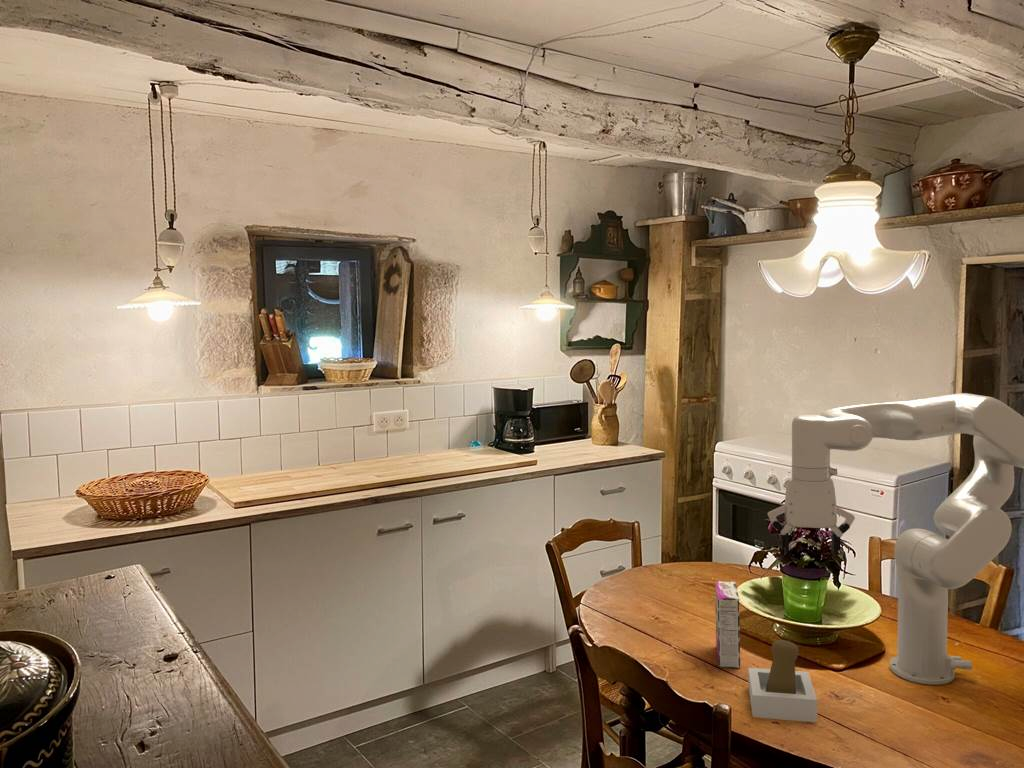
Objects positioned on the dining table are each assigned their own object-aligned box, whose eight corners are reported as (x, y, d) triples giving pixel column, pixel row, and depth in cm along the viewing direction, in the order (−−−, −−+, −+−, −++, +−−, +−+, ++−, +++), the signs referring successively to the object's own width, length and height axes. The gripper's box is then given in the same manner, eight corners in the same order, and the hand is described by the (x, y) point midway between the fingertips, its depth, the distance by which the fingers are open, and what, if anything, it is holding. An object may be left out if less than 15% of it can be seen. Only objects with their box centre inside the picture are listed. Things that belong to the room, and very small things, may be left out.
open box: (808, 694, 161) (808, 671, 161) (817, 724, 150) (817, 700, 149) (748, 690, 164) (748, 667, 164) (752, 719, 152) (752, 695, 152)
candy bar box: (714, 646, 184) (714, 580, 183) (736, 647, 183) (736, 581, 182) (717, 667, 174) (717, 597, 172) (740, 669, 173) (740, 598, 171)
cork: (782, 687, 161) (787, 635, 160) (802, 700, 155) (808, 646, 155) (758, 690, 158) (763, 637, 158) (779, 703, 153) (784, 648, 152)
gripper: (851, 470, 164) (850, 549, 166) (766, 469, 168) (766, 545, 170) (858, 478, 157) (857, 560, 158) (769, 476, 161) (769, 556, 163)
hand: (810, 552), depth 164 cm, fingers open, 9 cm apart
